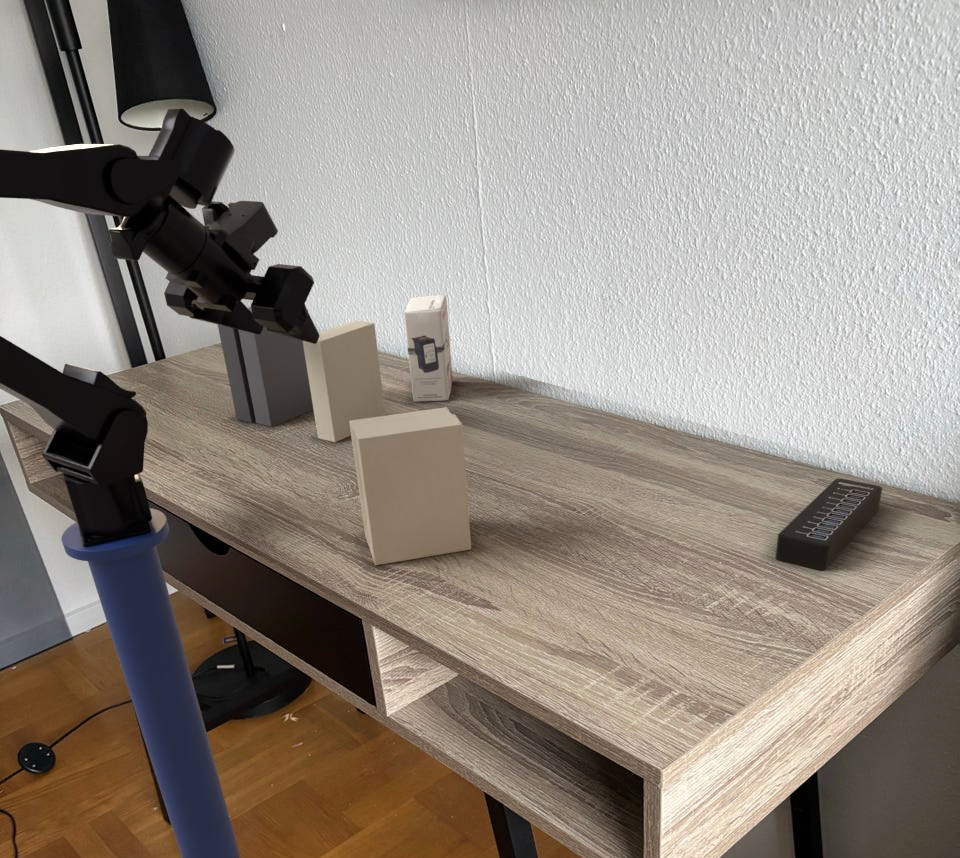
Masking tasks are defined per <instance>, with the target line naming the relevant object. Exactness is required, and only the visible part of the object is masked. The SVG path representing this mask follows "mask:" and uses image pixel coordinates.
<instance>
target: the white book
mask: <svg viewBox="0 0 960 858" xmlns="http://www.w3.org/2000/svg"><path fill="white" fill-rule="evenodd" d="M375 325H376V324H375V322H369V321H363V320H353V321H350V322H348V323H345V324H342V325H339V326H336V327H333V328H329V329H327V330H324V331H321V332H318V333H319V335H320V336H319V339H318V341H317V343H316V344H312V343H309V342H305V341H303V346H304V353H305V359H306V365H307V372H308V378H309V384H310V391H311V397H312V403H313V409H314V410H313V415H314V421H315V427H316V434H317V438H318V439H320V440H325V441H328V442H332V443H337V442H339V441H342V440H344V439H347V438H348V437H351V430H350V423H349V421H351V420H358V419H365V418H373V417H380V416H386V410H385V401H384V393H383V392H384V391H383V384H382V377H381V367H380V360H379V351H378V343H377V341H378V340H377V335H376V326H375Z"/></svg>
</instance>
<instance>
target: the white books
mask: <svg viewBox="0 0 960 858" xmlns="http://www.w3.org/2000/svg"><path fill="white" fill-rule="evenodd" d="M349 423H350V430H351V436H350V437H351V444H352V452H353V457H354V458H353V459H354V466H355V471H356V472H355V474H356V479H357V480H356V481H357V487H358V488H357V489H358V495H359V501H360V509H361V516H362V523H363V524H362V525H363V531H364V537H365V540H366V543H367V545H368V549H369V551H370V555H371V557H372V560H373V563H374V566H381V565H386V564H392V563H398V562H399V563H400V562H404V561H410V560H411V561H412V560H417V559H422V558H429V557H434V556H440V555H446V554H453V553H458V552H464V551H468V550H469V551H470V550H472V539H471V525H470V513H469V498H468V483H467V471H466V457H465V443H464V431H463V428H464V427H463V423H462V422H461V420H460V419H459V418H458V416H457V415H456V414H455V413H451V411H450V410H449V408H448V407H446V406H445V407H438V408H431V409H424V410H417V411H409V412H401V413H395V414H387V415H385V416H380V417H373V418H365V419H358V420H351V421H349Z"/></svg>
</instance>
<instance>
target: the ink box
mask: <svg viewBox="0 0 960 858" xmlns="http://www.w3.org/2000/svg"><path fill="white" fill-rule="evenodd" d="M447 301H448V300H447V295H445V294H436V295H426V296H416V297H410V299H409V301H408V303H407V306H406V308H405V310H404V311H403V316H404V318H403V319H404V326H405V338H406V347H407V356H408V365H409V367H408V368H409V376H410V383H411V384H410V385H411V392H412V401H413V402H414V403H420V402H439V401H441V402H443V401H449V399H450V395H451V391H452V386H453V382H454V381H453V369H452V367H453V366H452V354H451V342H450V341H451V340H450V338H451V337H450V325H449V313H448V302H447Z"/></svg>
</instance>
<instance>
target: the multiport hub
mask: <svg viewBox="0 0 960 858" xmlns="http://www.w3.org/2000/svg"><path fill="white" fill-rule="evenodd" d="M882 493H883V487H882V486H880V485H876V484H872V483H871V484H870V483H865V482H860V481H856V480H855V481H854V480H850V479H844V478H835V479H834V480H833V481H831V482H830V483H829V485H827V486H826V488H825V489H823V490H822V491H821V492H820V493H819V494H818V495H817V496H816V497H815V498H814V499H813V500H812V501H811V502H810V503H809V504H808V505H807V506H805V508H803V510H801V511H800V512H799V513H798V514H797V515H796V516H795V517H794V518H793V519H792V520H791V521H790V522H789V523H788V524H787V525H786V526H785V527H784V528H783V529H782V530H781V531H780V532H778V535H777V540H776V549H775V559H776V560H777V561H780V562H784V563H785V562H786V563H788V564H793V565H797V566H801V567H805V568H809V569H813V570H817V571H825V570H827V569H828V568H829V566H830V565H831V564H833V562H834V561H835V560H836V559H837V557H838V556H839V555H840V554H841V553H842V552H843V550H845V549H846V547H847V546H848V545H849V544H850V543H851V542H852V540H854V539H855V537H856V536H857V535H858V534H859V532H861V530H863V528H864V527H865V526H866V525H867V524H868V522H869V521H870V520H871V519H872V518H873V517H874V516H875V515H876V514H877V513H878V512H879V509H880V503H881V498H882Z"/></svg>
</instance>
